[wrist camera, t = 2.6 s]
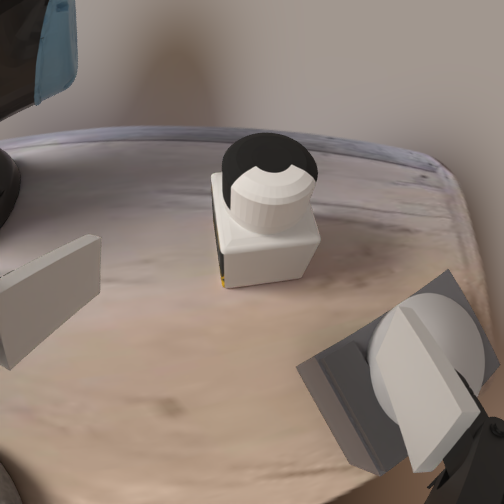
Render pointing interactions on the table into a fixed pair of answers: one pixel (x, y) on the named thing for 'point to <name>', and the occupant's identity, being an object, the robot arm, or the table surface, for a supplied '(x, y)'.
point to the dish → (7, 489)
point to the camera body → (371, 381)
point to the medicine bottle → (264, 210)
